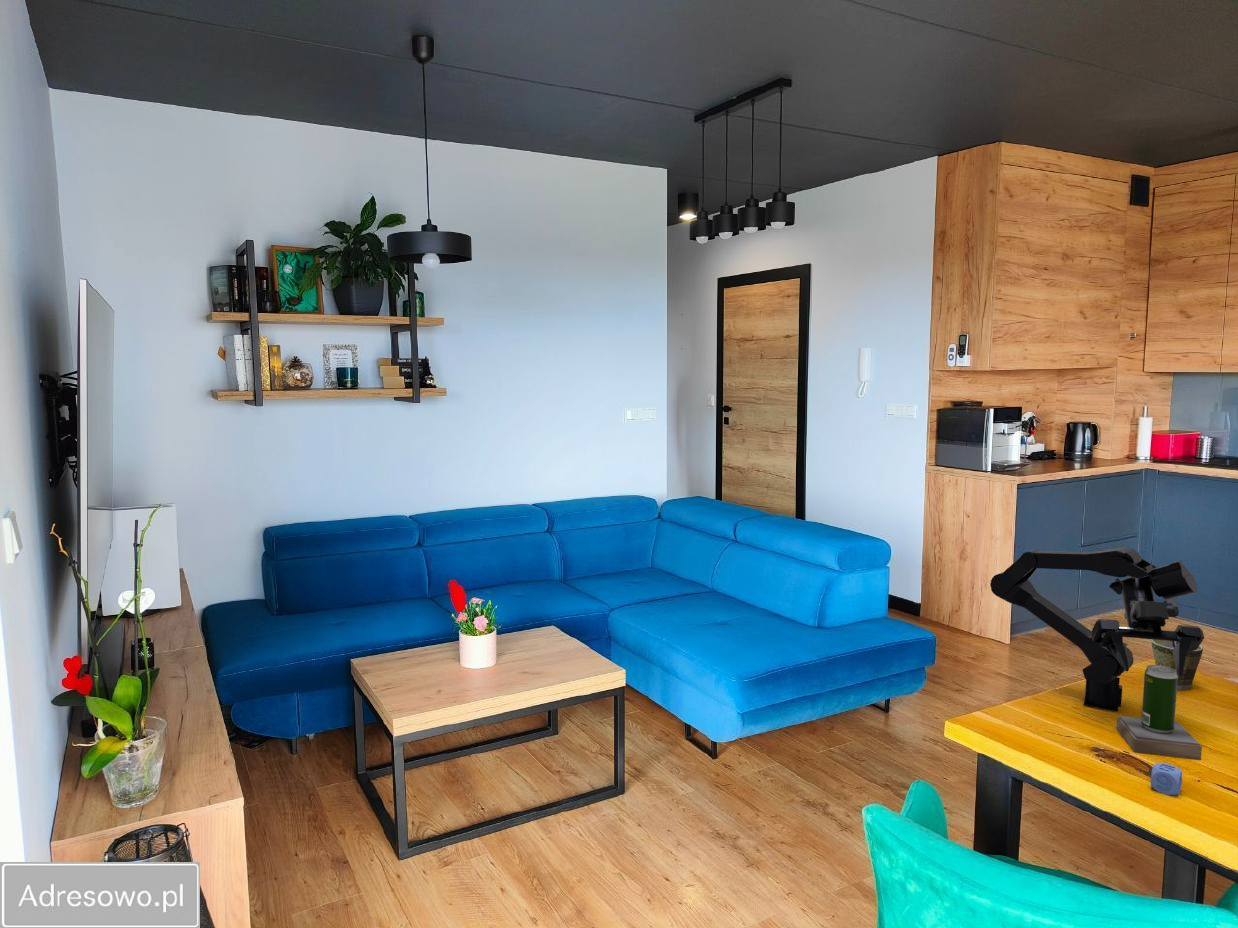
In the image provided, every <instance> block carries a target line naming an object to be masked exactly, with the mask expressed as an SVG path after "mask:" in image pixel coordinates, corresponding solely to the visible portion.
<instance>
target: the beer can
mask: <svg viewBox="0 0 1238 928" xmlns="http://www.w3.org/2000/svg"><path fill="white" fill-rule="evenodd" d="M1176 673H1177V671H1176V670H1175V669H1173V668H1170V667H1166V666H1161V665H1155V664H1149V665H1146V669H1145V671H1144V680H1143V695H1142V709H1141V710H1142V711H1141V718H1142V721H1141V723H1142V725H1143V727H1144V728H1145V729H1147V730H1149V731H1152V732H1155V733H1161V734H1169V733H1171V732H1172V731H1173V730H1174V722H1176V721H1175V719H1176V706H1177V705H1176V703H1177V695H1178V694H1177V692H1178V690H1177V681H1178V676H1177V674H1176Z"/></svg>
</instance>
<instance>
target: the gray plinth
mask: <svg viewBox="0 0 1238 928" xmlns="http://www.w3.org/2000/svg"><path fill="white" fill-rule="evenodd" d="M1141 721H1142V717H1136V716H1135V717H1134V716H1126V715H1125V716H1123V715H1119V716H1116V727H1115V730H1116V731H1117V732H1118V733H1119V735H1120V736H1121V737H1122V738H1123V740H1124V741H1125V742H1126V744H1127V745H1128V746H1129V748H1130V749H1132V751H1133V752H1134V753H1137V754H1144V755H1145V754H1146V755H1153V756H1164V757H1170V758H1171V757H1173V758H1181V759H1190V760H1198V761H1201V760H1202V752H1203V746H1202V745H1201V743H1199V742H1198V741H1197V740H1196V738H1195V737H1194V736H1193V735H1192V734H1191V733H1190V732H1189V731H1188V730H1187V729H1186V728H1185V727H1184V726H1183V725H1182V724H1181V723H1180V722H1179V721H1175V722H1174V730H1173V731H1172V732H1171V733H1169V734H1161V733H1155V732H1152V731H1149V730H1147V729H1145V728H1144V727H1143V725H1142V723H1141Z"/></svg>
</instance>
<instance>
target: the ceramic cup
mask: <svg viewBox="0 0 1238 928" xmlns="http://www.w3.org/2000/svg"><path fill="white" fill-rule="evenodd" d="M1150 640H1151V648H1152V654H1153V658H1154V665H1161V666H1166V667H1170V668H1173V669H1175V670H1176V666H1175V661H1174V657H1173V652H1172V651H1173V649H1174V647H1173V645H1172V641H1165V640H1153V639H1150ZM1203 651H1204V647H1203V646H1202V645H1201V644H1200V645H1199V647H1198V648H1197V650H1194V651H1191V652H1190V653H1189V654H1186V659H1185V664H1184V669H1183V674H1182V676H1178V673H1176V674H1177V676H1178V681H1177V691H1187V690H1191V689H1192V686H1193V682H1194V681H1195V677H1196V673H1197V669H1198V666H1199V665H1200V662H1201V659H1202V655H1203Z"/></svg>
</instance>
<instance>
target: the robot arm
mask: <svg viewBox="0 0 1238 928" xmlns="http://www.w3.org/2000/svg"><path fill="white" fill-rule="evenodd" d="M1182 561H1183V560H1176V561H1174V562H1172V563H1170V564H1166V565H1163V566H1159V567H1158V566H1156V565H1154V563H1153V564H1152V562H1149V561H1148V560H1146V559H1144V558H1142V557H1141V555H1140V554H1139V552H1138V551H1136V550H1135V548H1132V547H1128V546H1122V547H1116V548H1115V547H1114V548H1110V549H1109V548H1108V549H1103V550H1097V551H1096V550H1095V551H1066V550H1065V551H1062V550H1061V551H1059V550H1058V551H1057V550H1054V551H1053V550H1038V549H1031V550H1028V551H1025V552H1023V553H1022V554H1021V555H1020V557H1019V558H1018V559H1017V560H1016V561H1014V562H1013V563H1012V564H1011V565H1010V566H1009V567H1008V568H1006V569H1005V570H1004V571H1003V572H1000V573H998V574H995V575H993V576H992V578H991V580H990V583H989V584H990V591H991V592H992V594H993V595H994V596H996V597H998V598H1000V599H1002V600H1003V601H1005V602H1008V603H1009V604H1011V605H1016V606H1018V607H1021V608H1023V609H1025V610H1027V611H1028V612H1030V613H1031V614H1032V615H1033V616H1035V617H1036V618H1038V619H1039V620H1040V621H1042V622H1043V623H1044V624H1046V625H1047V626H1049V627H1050V628H1051V629H1053V630H1054V631H1055V632H1057V633H1058V634H1060V635H1061V636H1062V637H1064V639H1065V638H1066V640H1068V641H1069V642H1071V643H1072V644H1073V645H1075V646H1076V647H1078V648H1079V649H1080V650H1081V651H1082V654H1084V656H1085V657H1086V659H1087V661H1088V662H1089V664H1088V665H1087V666H1085V667H1084V668H1082V674H1083V677H1084V679H1085V687H1084V688H1085V690H1084V698H1083V706H1085V707H1089V708H1096V709H1100V710H1106V711H1112V712H1119V708H1121V707H1122V697H1123V685H1122V684H1120V682H1121V681H1120V680H1121V678H1120V677H1121V675H1122V674H1123V673H1125V672H1129V669H1130V668H1131V667H1132V666H1133V664H1134V660H1135V659H1134V656H1133V652H1132V651H1131V649H1129V647H1127V646H1128V643H1125V642H1124V641H1123V640H1124V639H1123V638H1134V639H1140V640H1141V639H1142V640H1152V639H1153V640H1165V641H1172V645H1173V647H1174V649H1173V651H1172V652H1173V657H1174V661H1175V666H1176V671H1177V673H1178V676H1182V674H1183V669H1184V664H1185V659H1186V654H1189V653H1190V652H1191V651H1194V650H1197V648H1198V647H1199V645H1201V644H1202V642H1203V641H1204V639H1205V635H1204V634H1205V633H1204V632H1203V629H1202V628H1200V626H1198V625H1188V624H1187V625H1185V624H1178V625H1177V627H1176V628H1175V630H1164V629H1163V630H1162V627H1165V625H1166V620H1169V619H1170V618H1176V617H1178V616H1179V613H1180V611H1179V605H1178V602H1177V600H1174V599H1175V598H1179V597H1183V596H1188V595H1193V594H1196V593H1197V592H1198V585H1197V582H1196V579H1195V578H1194V577H1195V576H1194V575H1193V574H1192V573H1191V572H1190V570H1189V569H1188V567H1186V566H1185V565H1184V564H1183V562H1182ZM1037 569H1047V570H1048V569H1050V570H1071V571H1072V570H1075V571H1076V570H1077V571H1090V572H1094V573H1098V574H1101V575H1105V576H1109V577H1114V578H1115V577H1116V578H1115V580H1114V581H1113V582H1111V583H1110V584H1109V585H1108V587H1109V588H1110V589H1111V590H1112V591H1113V592H1114V593H1116V594H1117V595H1121V596H1122V601H1123V607H1124V608H1123V609H1124V619H1125V620H1126V622H1127V627H1125V626H1120V622H1119V620H1117V619H1107V618H1098V619H1097V620H1096V621H1095V623H1094V624H1093V628H1092V629H1089V628H1088V627H1086V626H1085V625H1083V624H1082V623H1081V622H1079V621H1078V620H1076V619H1075V618H1074V617H1072V616H1071V615H1069V614H1068V613H1066V612H1065V611H1064V610H1062V609H1061V608H1060V607H1058V606H1057V605H1055V604H1054V603H1052V602H1051V601H1050V600H1048V599H1047V598H1046V597H1044V596H1042V595H1041V594H1040V593H1039V592H1038V591H1037V589H1036V588H1035V587H1034V584H1033V583H1032V582H1031V581H1030V580H1029V579H1030V578H1031V577H1032V576H1033V575H1034V573H1035V572H1036V571H1037ZM1126 577H1128V578H1126ZM1119 578H1124V579H1119ZM1154 594H1155V595H1156V596H1157V597H1158V598H1162V599H1163V601H1156V598H1155V595H1154ZM1090 663H1091V664H1090Z"/></svg>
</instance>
